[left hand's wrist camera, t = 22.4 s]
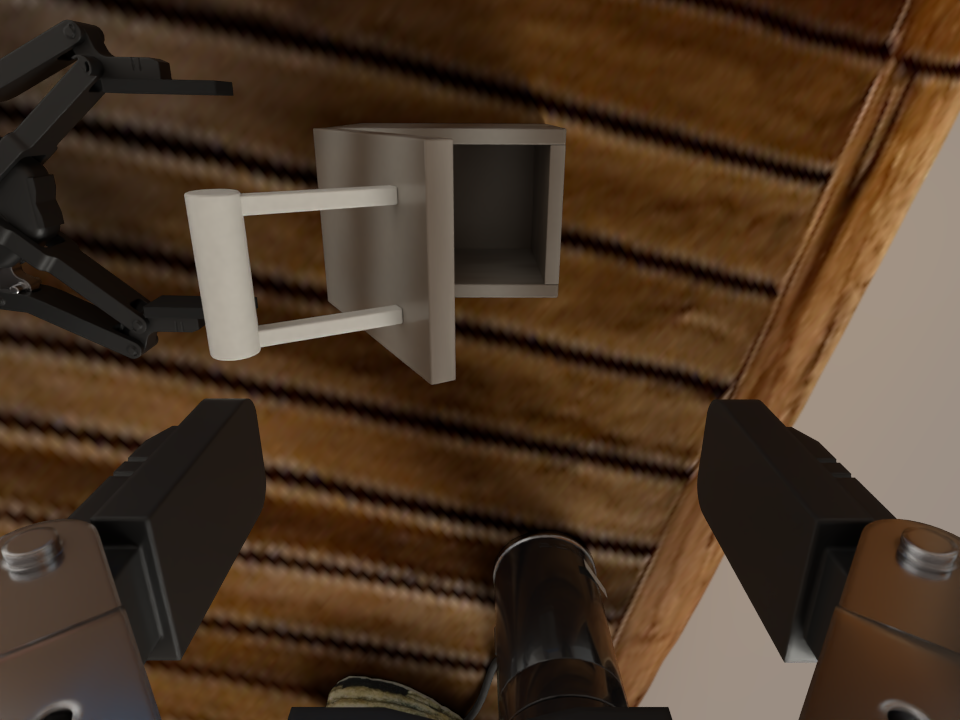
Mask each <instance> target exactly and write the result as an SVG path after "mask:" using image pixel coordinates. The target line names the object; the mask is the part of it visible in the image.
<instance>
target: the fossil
mask: <svg viewBox="0 0 960 720" xmlns="http://www.w3.org/2000/svg"><path fill="white" fill-rule="evenodd" d="M326 707H386V708H390V709H394V710H398V711H402V712H406V713H410V714H414V715H418V716H422V717H427V718H431V719H435V720H463V719H462V718H461V717H460V716H459V715H457V714H456V713H454V712H452V711H451V710H450V709H448V708H447V707H444V706H441V705H440V704H439V703H437V702H436V701H435V700H433V699H432V698H430V697H428V696H426V695H424V694H422V693H420V692H418V691H416V690H414V689H412V688H409V687H407V686H404V685H402V684H399V683H396V682H391V681H386V680H381V679H371V678H368V677H359V676H349V677H347V678H345V679H343V680H341V681H339V682H338V683H337V684H336V685H335V686H334V687H333V689H332V690H331V692H330V693H329V696H328V702H327V705H326Z"/></svg>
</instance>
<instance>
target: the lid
mask: <svg viewBox="0 0 960 720" xmlns="http://www.w3.org/2000/svg"><path fill="white" fill-rule="evenodd" d="M313 134H314V145H315V156H316V168H317V179H318V189H313V190H296V191H278V192H260V193H243V194H240V192H239V191H237V190H233V189H205V190H195V191H189V192H187V193H185V195H184V197H185V203H186V209H187V215H188V222H189V228H190V234H191V240H192V246H193V252H194V258H195V264H196V270H197V276H198V282H199V288H200V294H201V300H202V306H203V312H204V318H205V325H206V331H207V337H208V343H209V349H210V354H211V356H212V357H213V358H215V359H218V360H225V361H232V360H241V359H245V358H249V357H252V356H254V355H256V354H258V353H259V352H260V350H261V347H265V346H271V345H277V344H283V343H289V342H295V341H301V340H307V339H313V338H319V337H325V336H331V335H337V334H343V333H349V332H355V331H361V330H364V331H366V332H367V333H368V334H369V335H371V336H372V337H373V338H374V339H376V340H377V341H378V342H379V343H380V344H382V345H383V346H384V347H385V348H387V349H388V350H389V351H390V352H392V353H393V354H394V355H395V356H396V357H398V358H399V359H400V360H401V361H403V362H404V363H405V364H406V365H408V366H409V367H410V368H411V369H412V370H414V371H415V372H416V373H417V374H419V375H420V376H421V377H422V378H424V379H425V380H426V381H427V382H429V383H430V384H431V385H434V384H438V383H443V382H447V381H452V380H455V379H456V373H455V284H454V195H453V140H452V139H451V138H442V137H430V136H419V135H408V134H396V133H385V132H374V131H362V130H351V129H340V128H314V129H313ZM315 210H320V213H321V224H322V236H323V247H324V259H325V270H326V281H327V293H328V301H329V302H330V303H331V304H332V305H334V306H335V307H336V308H337V309H339V310H340V311H341V312H342V313H339V314H332V315H326V316H319V317H312V318H306V319H299V320H293V321H286V322H279V323H273V324H266V325H260V326H258V322H257V315H256V307H255V300H254V292H253V285H252V277H251V270H250V262H249V255H248V247H247V239H246V232H245V224H244V217H243V216H246V215H260V214H274V213H288V212H302V211H315Z"/></svg>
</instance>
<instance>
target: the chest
mask: <svg viewBox="0 0 960 720" xmlns="http://www.w3.org/2000/svg"><path fill="white" fill-rule="evenodd" d="M328 128H340V129H351V130H362V131H374V132H385V133H396V134H408V135H419V136H430V137H442V138H451V139H452V140H453V195H454V284H455V297H532V298H556V297H558V283H559V263H560V244H561V224H562V205H563V185H564V166H565V144H566V129H565V128H560V127H556V126H552V125H548V124H453V123H359V124H352V125H344V126H336V127H328Z"/></svg>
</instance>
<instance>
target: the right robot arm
mask: <svg viewBox="0 0 960 720" xmlns="http://www.w3.org/2000/svg"><path fill="white" fill-rule="evenodd" d="M75 61H77V62H76V63H75V64H74V65H73V66H72V67H71V68H70V70H69V71H68V72H67V73H66V74H65V75H64V76H63V77H62V78H61V80H60V81H59V82H58V83H57V84H56V85H55V86H54V87H53V88H52V90H51V91H50V92H49V93H48V94H47V95H46V96H45V97H44V99H43V100H42V101H41V102H40V103H39V104H38V105H37V106H36V107H35V109H34V110H33V111H32V112H31V113H30V114H29V115H28V116H27V117H26V119H25V120H24V121H23V122H22V123H21V124H20V125H19V126H18V127H17V129H16V130H15V131H13V132H11V133H9V134H7V135H5V136H4V137H3V138H2V137H0V309H3V310H11V311H19V312H27V313H29V314H32V315H34V316H36V317H39V318H41V319H43V320H45V321H48V322H50V323H52V324H54V325H57V326H59V327H61V328H63V329H66V330H68V331H70V332H73V333H75V334H77V335H79V336H82V337H84V338H86V339H88V340H91V341H93V342H95V343H98V344H100V345H102V346H104V347H107V348H109V349H111V350H113V351H116V352H118V353H120V354H123V355H125V356H127V357H129V358H133V359H134V358H138V357H140V356H141V355H142V354H144V353H145V352H147V351H148V350H149V349H151V348H152V347H153V346H155V345H156V344H157V343H158V336H157V332H194V331H196V330H199V329H200V328H201V327H203V326H204V325H205V318H204V312H203V306H202V300H201V296H165V295H162V296H161V297H159V298H157V299H155V300H154V301H152V302H150V301H149V300H148V299H146V298H145V297H144V296H142V295H141V294H139V293H138V292H137V291H135V290H134V289H133V288H131V287H130V286H128V285H127V284H126V283H124V282H123V281H122V280H120V279H119V278H117V277H116V276H115V275H113V274H112V273H110V272H109V271H108V270H106V269H105V268H104V267H102V266H101V265H99V264H98V263H97V262H95V261H94V260H93V259H91V258H90V257H88V256H87V255H86V254H84V253H83V252H82V251H80V250H79V246H78V244H77V243H76V242H74V241H73V240H72V239H70V238H69V237H67V236H66V235H65V234H63V233H62V232H61V231H59V229H60V224H64V221H63V216H62V212H61V210H60V208H59V205H58V203H57V201H56V185H55V180H54V176H53V175H52V174H49V173H48V172H47V170H46V169H45V167H44V166H43V164H44V163H45V162H46V161H47V160H48V159H49V158H50V157H51V155H52V154H53V153H54V152H55V151H56V150H57V144H58V143H59V142H60V141H61V140H62V139H63V138H64V137H65V136H66V135H67V133H68V132H69V131H70V130H71V129H72V128H73V127H74V126H75V125H76V124H77V123H78V122H79V121H80V119H81V118H82V117H83V116H84V115H85V114H86V113H87V112H88V111H89V110H90V109H91V108H92V107H93V105H94V104H95V103H96V102H97V101H98V100H99V99H100V98H101V97H102V96H103V95H104V94H105V93H132V94H179V95H227V96H233V87H232V82H224V81H211V80H172V78H171V71H170V65H169V63H168V62H165V61H163V60H161V59H155V58H144V57H114V56H113V55H112V54H111V53H110V52H109V51H108V50H107V48H106V46H105V44H104V34H103V32H102V30H101V29H100V28H99V27H97V26H95V25H90V24H86V23H81V22H76V21H71V20H65V21H62V22H60V23H59V24H57V25H55V26H54V27H52V28H51V29H49V30H47V31H46V32H44V33H42V34H41V35H39V36H37V37H36V38H34V39H32V40H31V41H29V42H27V43H26V44H24V45H22V46H21V47H19V48H18V49H16V50H14V51H13V52H11V53H9V54H8V55H6V56H4V57H3V58H1V59H0V102H2V101H6V100H9V99H12V98H14V97H16V96H18V95H19V94H21V93H23V92H25V91H26V90H28V89H30V88H31V87H33V86H35V85H36V84H38V83H40V82H41V81H43V80H45V79H47V78H48V77H50V76H52V75H53V74H55V73H57V72H58V71H60V70H62V69H63V68H65V67H67V66H69V65H70V64H72V63H74V62H75ZM45 245H46V246H48V248H45V247H44V246H45ZM24 262H27V263H29V264H30V265H32V266H33V267H34V268H36V269H38V270H42V271H47V272H49V273H51V274H52V275H53V276H55V277H56V278H58V279H59V280H61V281H62V282H63V283H65V284H66V285H68V286H69V287H70V288H72V289H73V290H75V291H76V292H78V293H79V294H80V295H82V296H83V297H85V298H86V299H87V300H89V301H90V302H92V303H93V304H94V305H93V304H91V303H89V302H87V301H84V300H82V299H80V298H78V297H75V296H73V295H71V294H69V293H67V292H64V291H62V290H60V289H57V288H54V287H51V286H47V285H42V281H41V279H40V278H38V277H33V276H30V275H28V274H26V273H25V272H24V271H23V270H22V268H21V264H22V263H24ZM254 300H255V307H256V309H257V308H258V304H257V297H254ZM95 305H96V306H95Z"/></svg>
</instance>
